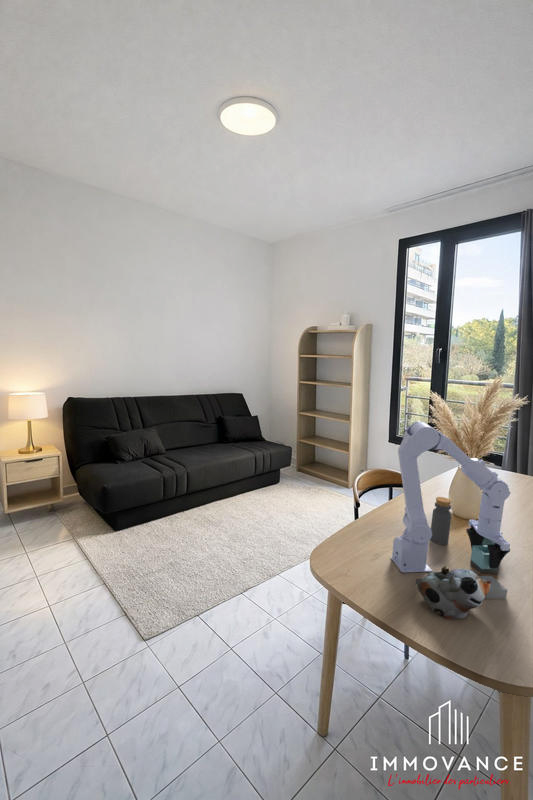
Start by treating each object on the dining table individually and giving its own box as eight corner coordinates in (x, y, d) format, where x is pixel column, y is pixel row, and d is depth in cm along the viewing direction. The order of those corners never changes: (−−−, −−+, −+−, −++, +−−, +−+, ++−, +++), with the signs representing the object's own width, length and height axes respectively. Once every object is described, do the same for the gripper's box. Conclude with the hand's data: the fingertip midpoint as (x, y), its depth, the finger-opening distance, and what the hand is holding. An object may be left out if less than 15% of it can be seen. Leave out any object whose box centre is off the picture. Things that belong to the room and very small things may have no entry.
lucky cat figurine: (445, 583, 103) (478, 552, 98) (473, 627, 93) (511, 595, 88) (406, 578, 98) (437, 544, 92) (430, 624, 88) (468, 590, 82)
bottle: (429, 541, 126) (433, 500, 124) (430, 534, 132) (434, 494, 129) (447, 546, 124) (452, 504, 122) (448, 538, 129) (453, 498, 127)
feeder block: (485, 598, 98) (486, 590, 97) (470, 584, 103) (471, 576, 103) (506, 598, 98) (507, 589, 98) (490, 583, 104) (491, 575, 104)
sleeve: (481, 573, 106) (483, 554, 105) (470, 563, 111) (472, 545, 110) (497, 573, 107) (499, 554, 106) (485, 563, 112) (487, 545, 111)
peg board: (495, 583, 104) (498, 559, 103) (467, 574, 108) (470, 550, 107) (499, 556, 119) (502, 534, 118) (475, 548, 123) (478, 528, 122)
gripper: (522, 529, 100) (515, 574, 102) (485, 506, 114) (480, 546, 116) (498, 529, 99) (492, 575, 101) (464, 506, 113) (459, 547, 115)
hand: (484, 560), depth 108 cm, fingers open, 7 cm apart
